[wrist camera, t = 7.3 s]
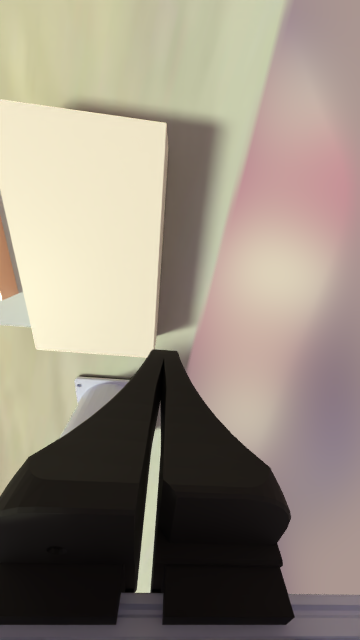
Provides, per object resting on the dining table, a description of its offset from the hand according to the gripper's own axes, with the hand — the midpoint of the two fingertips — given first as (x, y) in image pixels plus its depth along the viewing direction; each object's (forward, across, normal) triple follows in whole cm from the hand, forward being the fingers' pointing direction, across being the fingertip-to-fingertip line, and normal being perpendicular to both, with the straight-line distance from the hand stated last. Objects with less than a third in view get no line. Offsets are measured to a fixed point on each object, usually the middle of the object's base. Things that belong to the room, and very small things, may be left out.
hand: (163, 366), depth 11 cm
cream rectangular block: (+10, +6, -4) cm, 13 cm away
